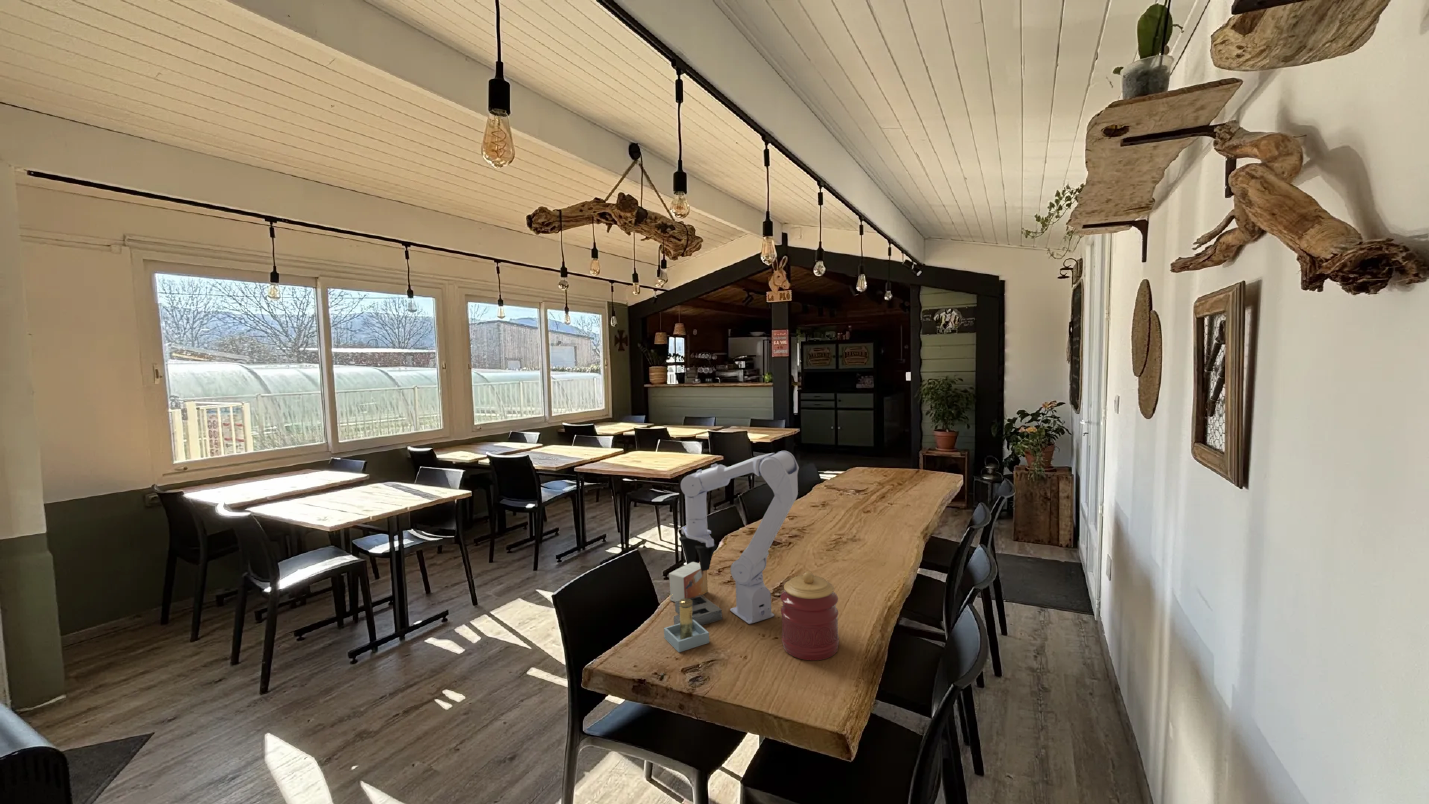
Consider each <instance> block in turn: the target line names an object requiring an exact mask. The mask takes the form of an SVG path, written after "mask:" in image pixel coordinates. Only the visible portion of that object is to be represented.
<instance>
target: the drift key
mask: <svg viewBox="0 0 1429 804" xmlns="http://www.w3.org/2000/svg"><path fill="white" fill-rule="evenodd" d="M696 615H700V613H695V614H692V620H693V616H696ZM679 623H680V615H679V614H676V615H673V625H676V624H679Z"/></svg>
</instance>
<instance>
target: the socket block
mask: <svg viewBox="0 0 1429 804" xmlns="http://www.w3.org/2000/svg"><path fill="white" fill-rule="evenodd" d="M689 599H691V600H692V614H695V613H700V615H696V616H693V619H694V620H695V621H696V622H697V623H698V624H699V625H701V626H702V627H703V626H705V625H708V624H711V623H714V622H718V621H721V620H723V609H722V608H721V607H719V606H718V605H716V604H715V603H713V602H712V601H711V600H709V599H708V598H706V596H704V594H703V595H698V596H695V597H691V598H689ZM674 606H675V612H676V613H677V615H680V606H679V601H676V602H674Z"/></svg>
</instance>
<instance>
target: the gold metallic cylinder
mask: <svg viewBox="0 0 1429 804" xmlns="http://www.w3.org/2000/svg"><path fill="white" fill-rule="evenodd" d="M679 606H680V639H681V640H682V639H686V638H689V637H692V636H693V623H692V600H691V599H689V598H684V599H681V600H680V601H679Z"/></svg>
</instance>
